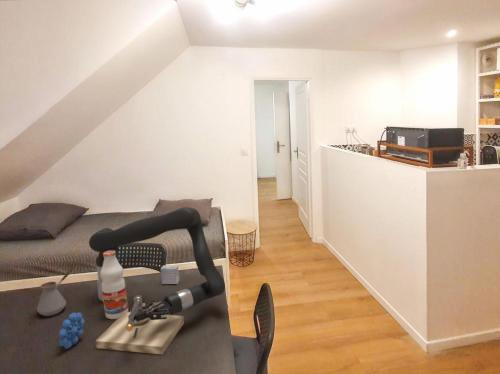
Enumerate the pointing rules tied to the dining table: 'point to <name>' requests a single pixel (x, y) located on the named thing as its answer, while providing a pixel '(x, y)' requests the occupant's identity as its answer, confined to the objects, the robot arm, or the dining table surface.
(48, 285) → the coffee pot
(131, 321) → the metal faucet
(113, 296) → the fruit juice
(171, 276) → the medicine box
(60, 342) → the grapes
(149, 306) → the robot arm
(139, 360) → the dining table surface
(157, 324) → the stand
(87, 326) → the dining table surface
